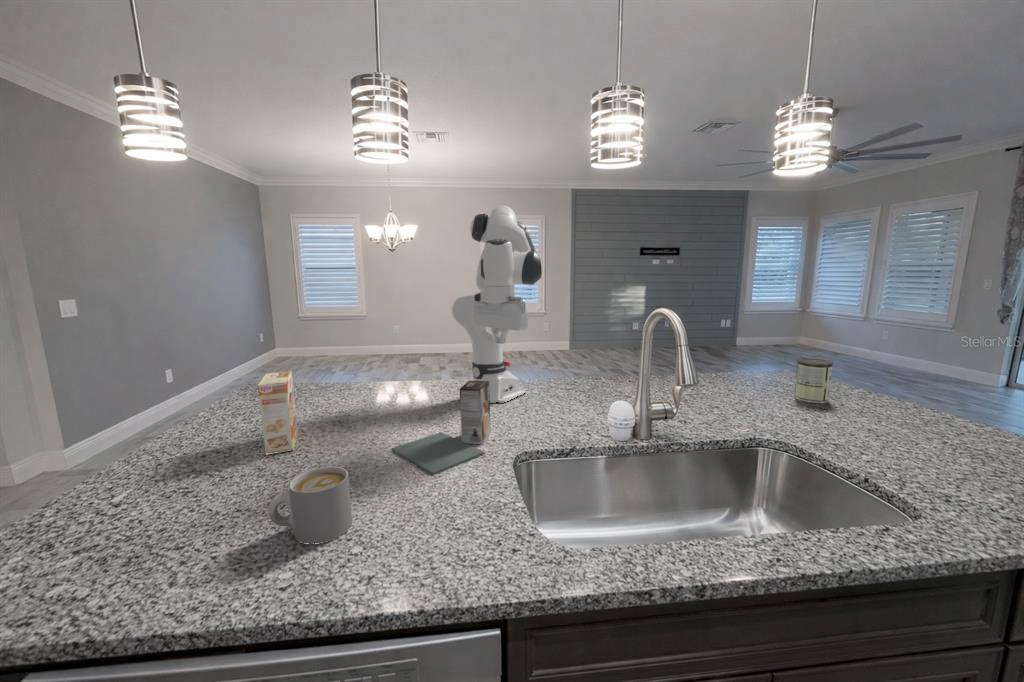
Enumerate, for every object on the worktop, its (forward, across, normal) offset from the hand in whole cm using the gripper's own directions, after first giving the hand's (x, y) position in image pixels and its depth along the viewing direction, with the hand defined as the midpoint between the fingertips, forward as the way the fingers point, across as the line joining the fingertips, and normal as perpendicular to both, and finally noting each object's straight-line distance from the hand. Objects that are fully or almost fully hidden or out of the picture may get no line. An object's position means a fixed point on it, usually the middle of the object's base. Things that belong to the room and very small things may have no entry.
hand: (500, 343), depth 122 cm
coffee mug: (+27, -12, +59) cm, 66 cm away
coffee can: (+26, -60, -97) cm, 117 cm away
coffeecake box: (+27, +37, +51) cm, 68 cm away
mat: (+27, 0, +23) cm, 35 cm away
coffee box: (+27, 0, +10) cm, 29 cm away
